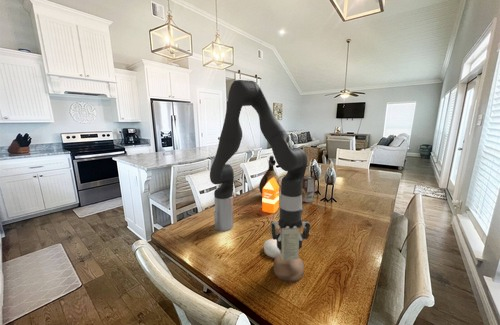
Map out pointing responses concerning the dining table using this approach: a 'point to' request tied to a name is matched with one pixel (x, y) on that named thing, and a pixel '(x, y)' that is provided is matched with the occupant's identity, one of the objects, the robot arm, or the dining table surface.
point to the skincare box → (289, 244)
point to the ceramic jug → (269, 175)
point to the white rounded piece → (271, 248)
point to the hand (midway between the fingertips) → (289, 248)
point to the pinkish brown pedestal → (288, 269)
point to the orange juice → (270, 196)
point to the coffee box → (308, 189)
